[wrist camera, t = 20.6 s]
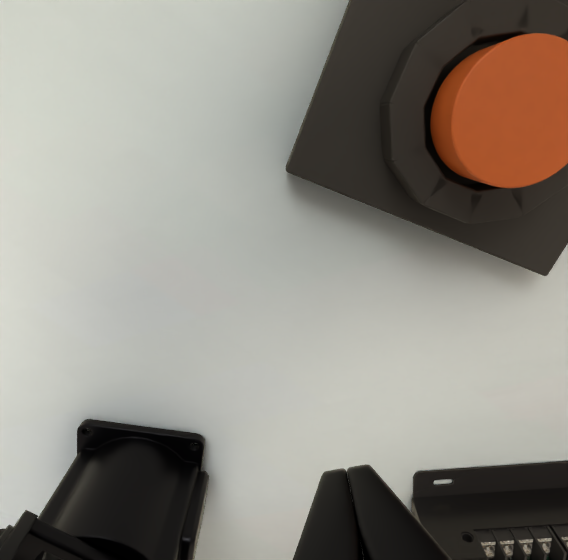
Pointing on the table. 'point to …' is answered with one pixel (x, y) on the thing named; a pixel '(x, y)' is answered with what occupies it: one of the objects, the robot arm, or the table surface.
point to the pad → (425, 124)
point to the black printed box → (496, 511)
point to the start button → (505, 112)
